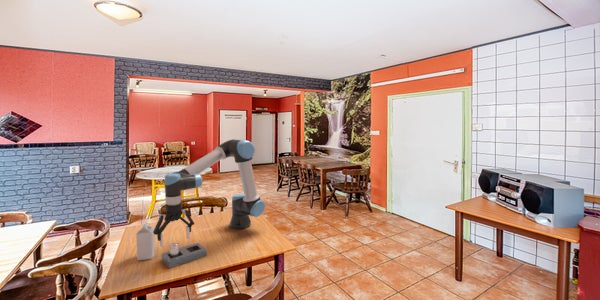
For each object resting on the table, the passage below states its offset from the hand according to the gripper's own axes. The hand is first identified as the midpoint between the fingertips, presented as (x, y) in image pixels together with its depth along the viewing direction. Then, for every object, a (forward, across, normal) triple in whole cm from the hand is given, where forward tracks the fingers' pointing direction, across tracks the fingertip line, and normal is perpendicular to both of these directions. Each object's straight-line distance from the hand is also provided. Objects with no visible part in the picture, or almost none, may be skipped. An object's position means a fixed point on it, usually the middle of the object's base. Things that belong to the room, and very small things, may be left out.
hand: (175, 242), depth 142 cm
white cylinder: (+10, +1, 0) cm, 10 cm away
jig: (+10, -5, 0) cm, 11 cm away
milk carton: (+10, +10, -15) cm, 21 cm away
